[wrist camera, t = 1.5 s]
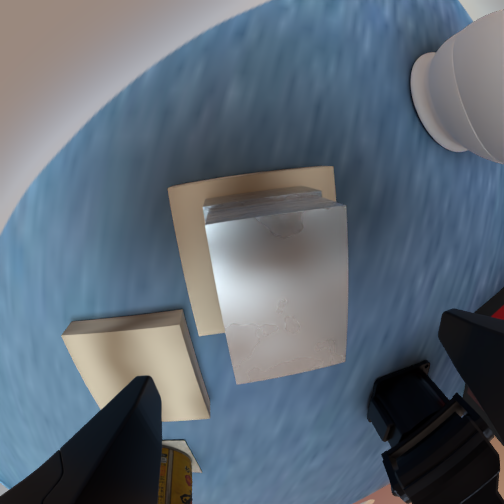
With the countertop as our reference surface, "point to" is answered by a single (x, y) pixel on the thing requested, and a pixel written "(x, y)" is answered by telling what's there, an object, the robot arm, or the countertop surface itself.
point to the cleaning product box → (496, 307)
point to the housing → (280, 279)
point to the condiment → (176, 473)
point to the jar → (465, 89)
